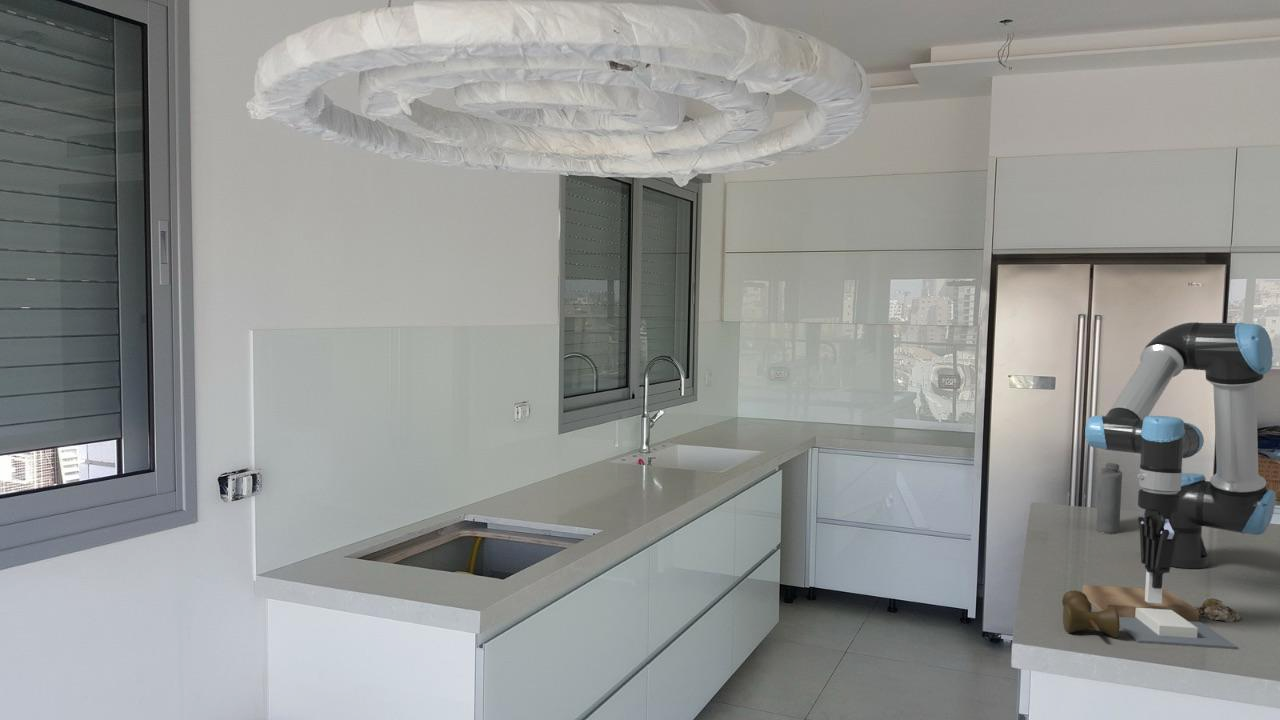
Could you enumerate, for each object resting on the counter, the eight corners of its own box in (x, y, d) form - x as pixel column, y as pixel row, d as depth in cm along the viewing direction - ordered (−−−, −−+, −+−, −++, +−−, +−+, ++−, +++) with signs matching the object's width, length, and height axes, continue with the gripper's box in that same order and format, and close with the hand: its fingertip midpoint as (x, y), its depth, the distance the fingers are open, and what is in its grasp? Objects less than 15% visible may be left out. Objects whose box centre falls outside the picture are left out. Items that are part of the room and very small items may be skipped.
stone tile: (1170, 619, 184) (1171, 609, 184) (1197, 638, 173) (1197, 628, 173) (1135, 616, 185) (1135, 607, 185) (1159, 635, 174) (1159, 625, 174)
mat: (1200, 623, 182) (1200, 622, 182) (1237, 649, 169) (1237, 646, 168) (1109, 618, 185) (1109, 616, 185) (1138, 642, 171) (1138, 640, 171)
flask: (1118, 535, 259) (1121, 468, 258) (1096, 532, 262) (1099, 465, 261) (1119, 525, 272) (1123, 461, 271) (1098, 523, 275) (1102, 459, 274)
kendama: (1099, 616, 187) (1126, 648, 168) (1050, 613, 190) (1071, 643, 170) (1099, 588, 187) (1126, 616, 168) (1050, 585, 189) (1071, 612, 170)
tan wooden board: (1166, 600, 197) (1167, 590, 197) (1198, 622, 183) (1198, 610, 183) (1082, 595, 200) (1082, 584, 199) (1107, 616, 186) (1107, 604, 186)
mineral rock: (1246, 616, 182) (1202, 599, 185) (1238, 635, 182) (1195, 618, 186) (1239, 603, 191) (1198, 587, 195) (1231, 621, 192) (1190, 605, 196)
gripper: (1127, 483, 190) (1121, 591, 191) (1154, 495, 177) (1147, 610, 178) (1164, 485, 189) (1158, 593, 190) (1194, 497, 176) (1187, 613, 177)
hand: (1153, 601), depth 184 cm, fingers closed
